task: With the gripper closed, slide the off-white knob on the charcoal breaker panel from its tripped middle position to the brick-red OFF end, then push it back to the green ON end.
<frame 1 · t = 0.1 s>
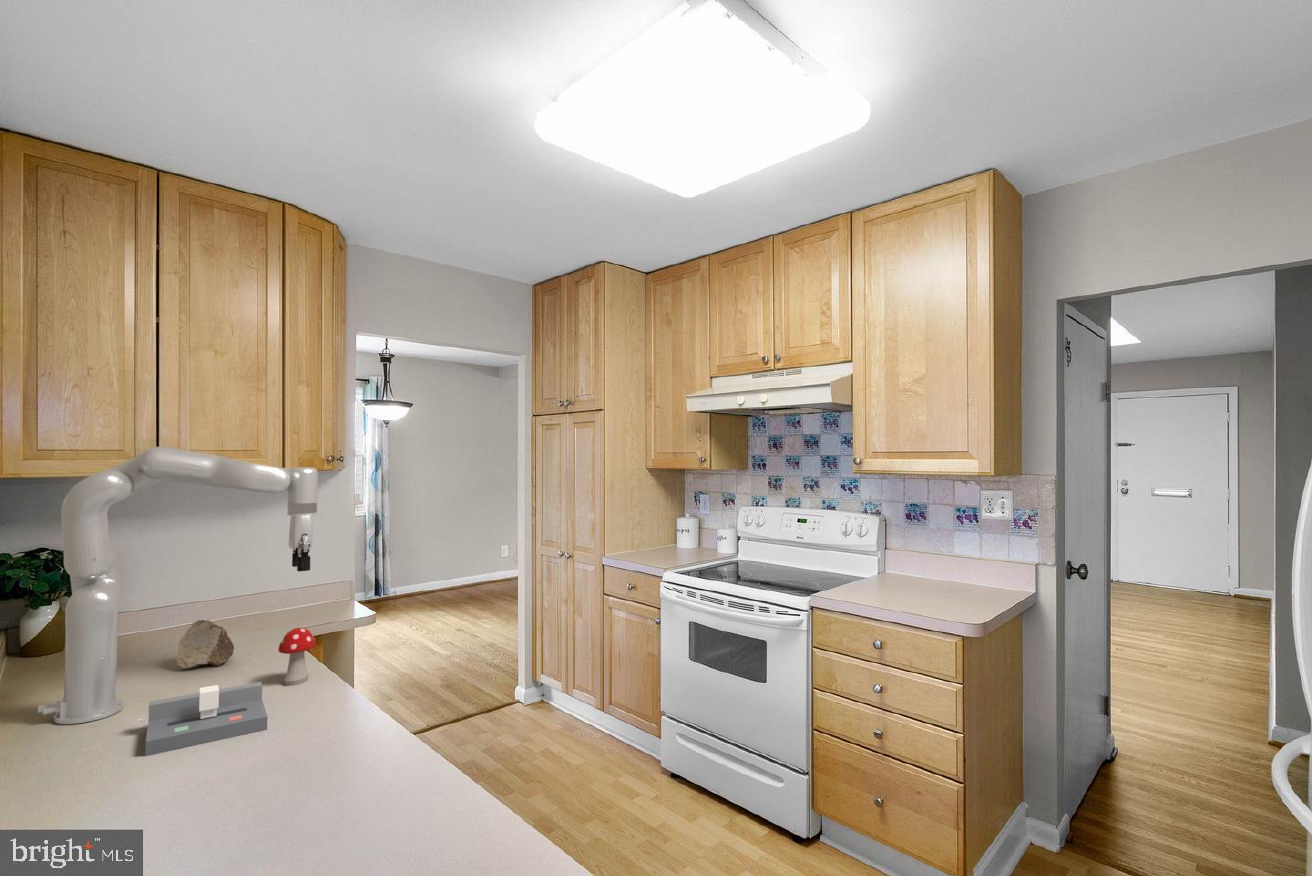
hand: (300, 568, 182), 31 cm above the countertop, fingers open, 9 cm apart
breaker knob: (208, 702, 146), point 6 cm above the countertop, slide at 5.0 cm
rock: (206, 666, 191), on the countertop
decorative mushroom: (296, 682, 177), on the countertop
breaker panel: (207, 729, 145), on the countertop
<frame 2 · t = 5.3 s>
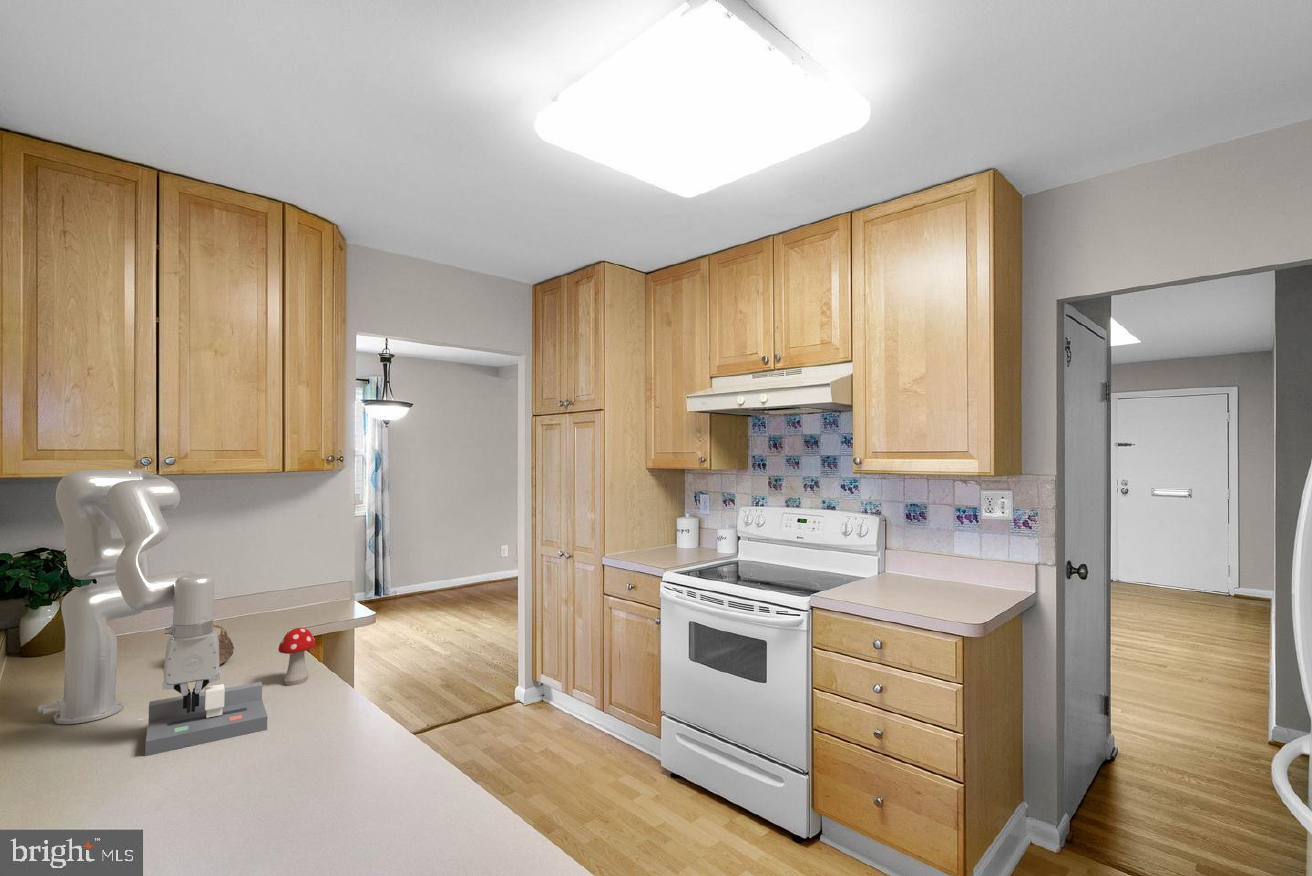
hand: (190, 710, 143), 5 cm above the countertop, fingers closed
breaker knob: (214, 701, 146), point 6 cm above the countertop, slide at 6.1 cm, touching gripper
everything else where it was.
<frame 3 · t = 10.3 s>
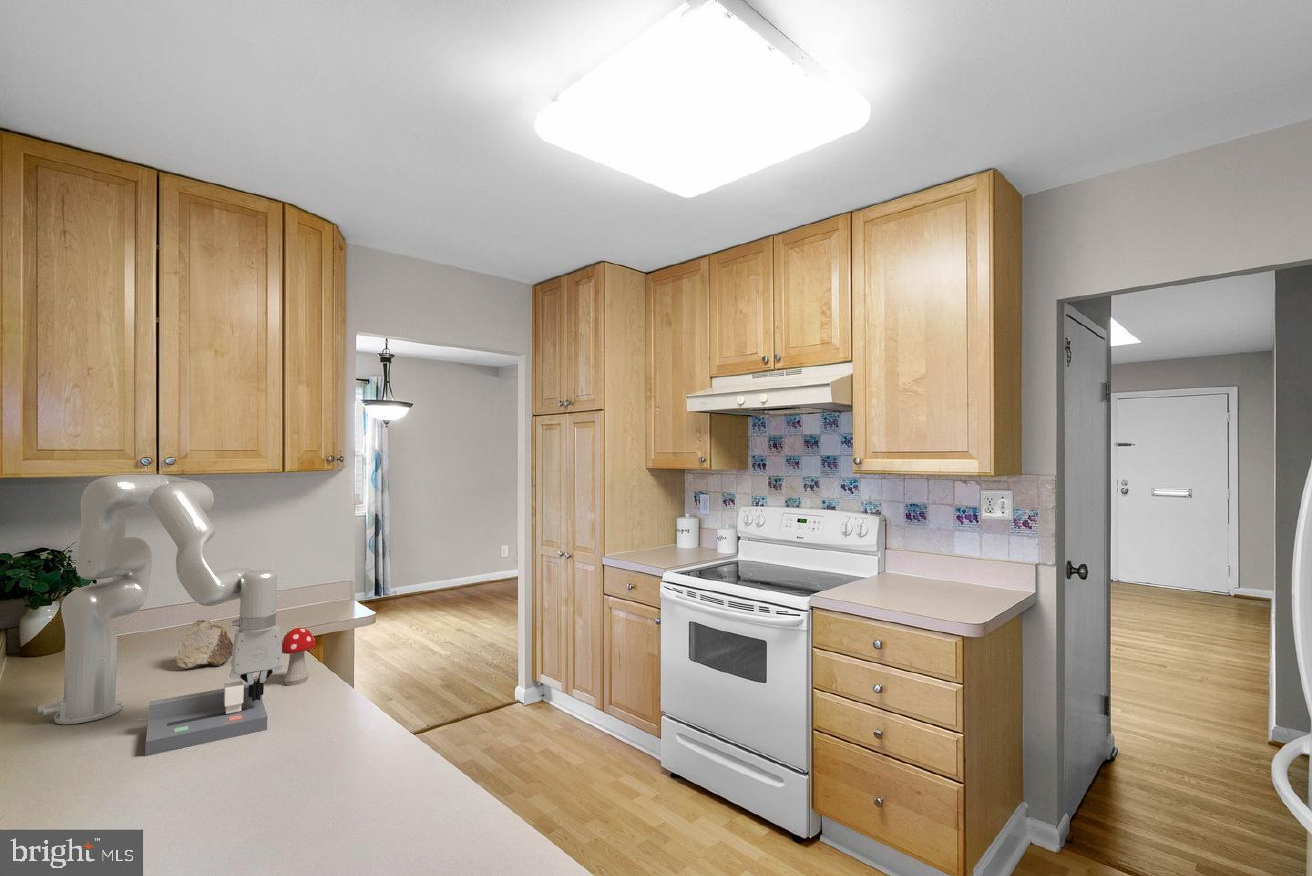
hand: (255, 698, 151), 5 cm above the countertop, fingers closed
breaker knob: (233, 697, 149), point 6 cm above the countertop, slide at 9.8 cm, touching gripper
everything else where it was.
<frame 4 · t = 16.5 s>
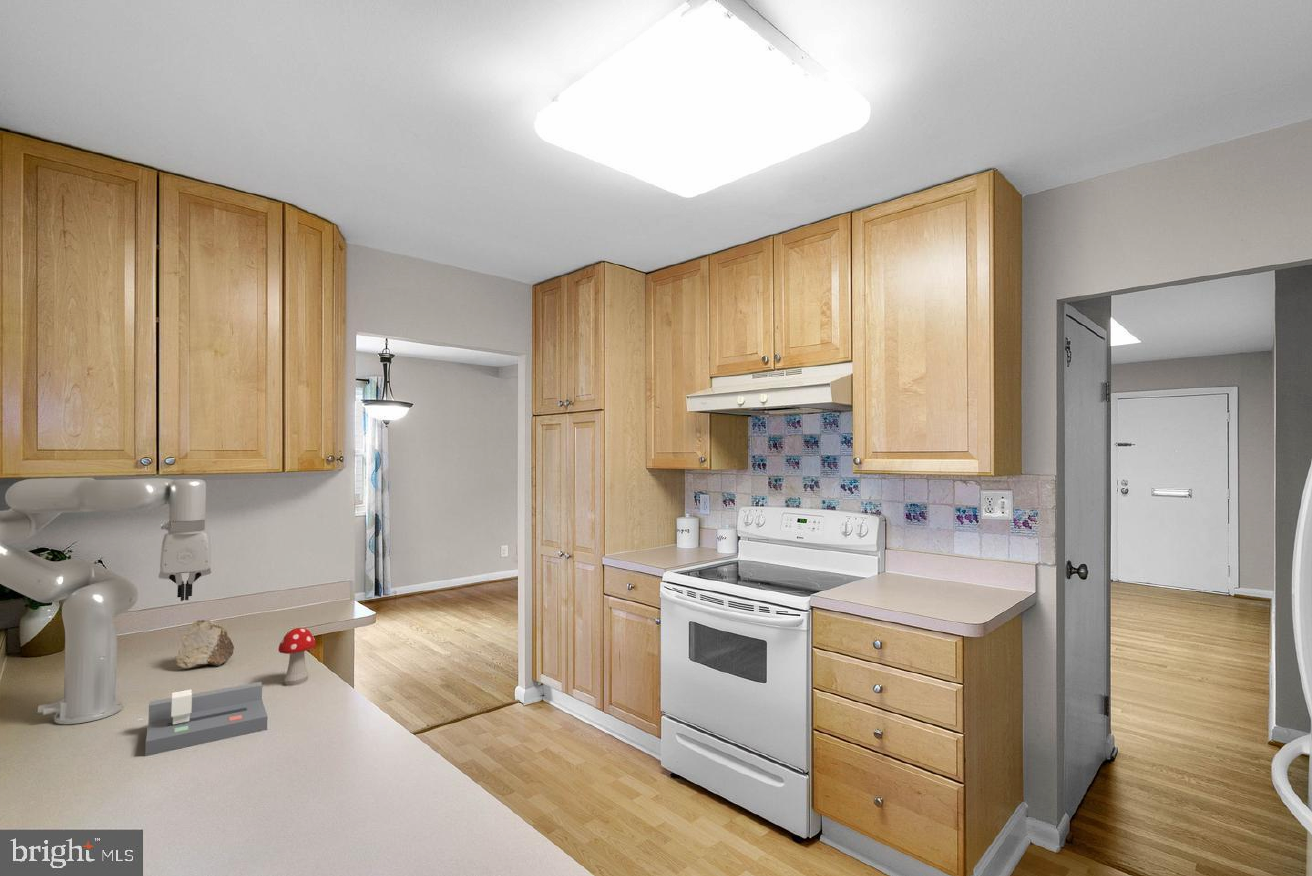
hand: (184, 599, 159), 27 cm above the countertop, fingers closed
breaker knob: (181, 707, 143), point 6 cm above the countertop, slide at -0.1 cm
everything else where it was.
at the end: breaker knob slide at -0.1 cm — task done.
